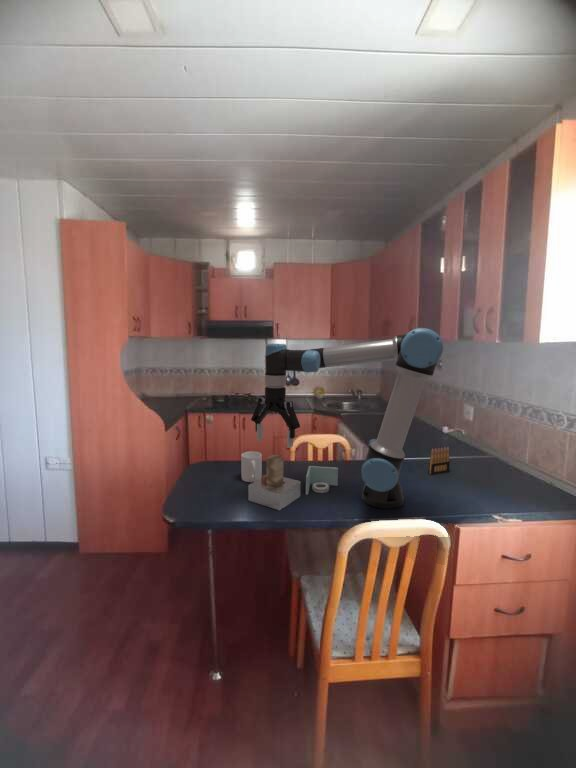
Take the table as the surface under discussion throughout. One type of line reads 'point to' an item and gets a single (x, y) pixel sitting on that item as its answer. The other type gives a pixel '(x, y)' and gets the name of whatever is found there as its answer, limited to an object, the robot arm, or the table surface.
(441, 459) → the ammunition clip
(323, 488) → the right angle wall
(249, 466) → the mug
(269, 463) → the column
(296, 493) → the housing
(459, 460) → the table surface
